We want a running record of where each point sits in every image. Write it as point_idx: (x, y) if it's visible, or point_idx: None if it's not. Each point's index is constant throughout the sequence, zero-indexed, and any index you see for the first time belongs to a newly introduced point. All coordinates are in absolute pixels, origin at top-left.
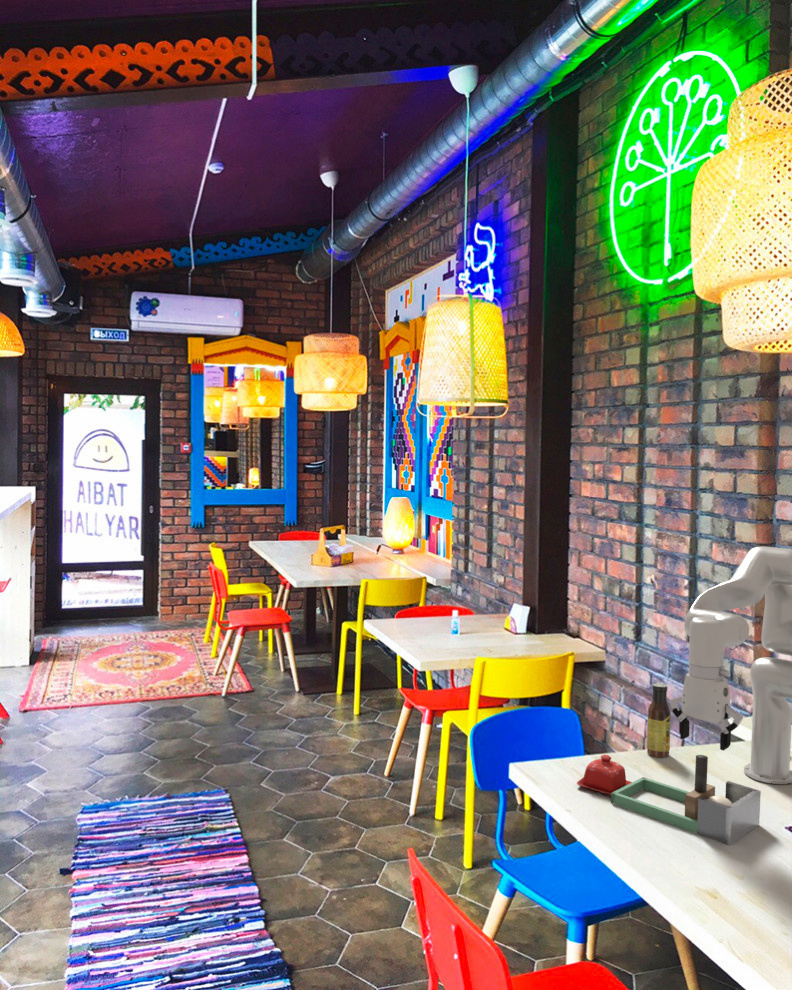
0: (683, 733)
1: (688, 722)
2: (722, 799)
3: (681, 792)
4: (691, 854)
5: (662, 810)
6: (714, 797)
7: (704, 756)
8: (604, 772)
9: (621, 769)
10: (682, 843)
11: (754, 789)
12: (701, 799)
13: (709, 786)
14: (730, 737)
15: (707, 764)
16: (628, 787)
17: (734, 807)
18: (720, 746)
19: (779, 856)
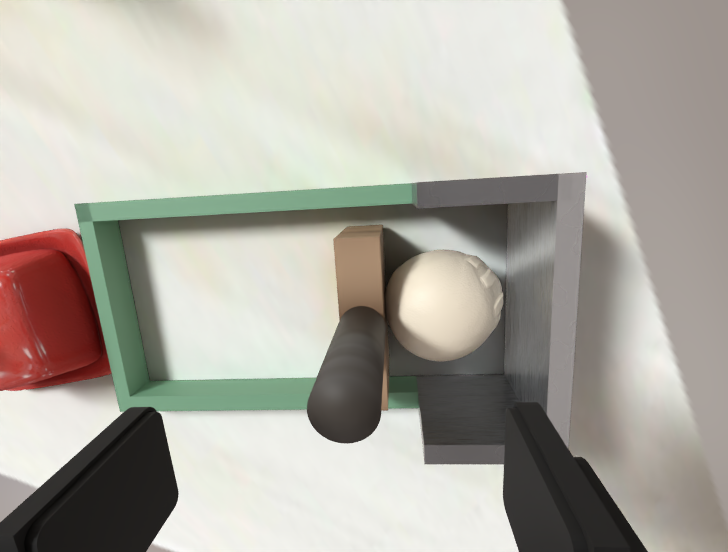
0: (150, 543)
1: (55, 543)
2: (461, 330)
3: (241, 212)
4: (467, 505)
5: (297, 407)
6: (429, 335)
7: (351, 392)
8: (18, 386)
9: (22, 310)
10: (420, 469)
11: (556, 180)
12: (437, 462)
13: (362, 256)
14: (623, 522)
15: (379, 375)
16: (116, 330)
17: (567, 439)
18: (513, 524)
19: (657, 346)
